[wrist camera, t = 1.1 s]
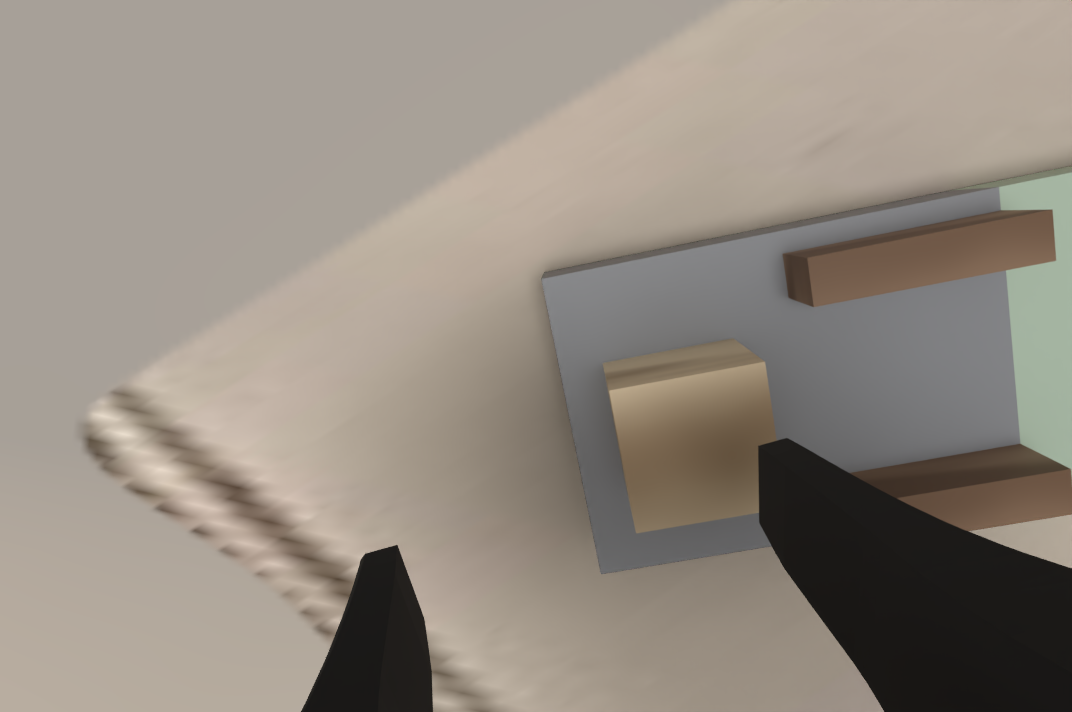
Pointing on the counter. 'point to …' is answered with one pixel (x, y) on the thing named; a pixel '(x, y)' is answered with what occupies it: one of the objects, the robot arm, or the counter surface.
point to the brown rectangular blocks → (925, 259)
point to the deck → (827, 353)
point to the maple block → (691, 432)
